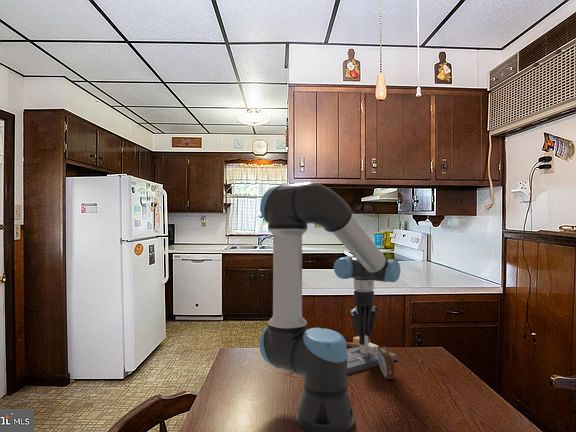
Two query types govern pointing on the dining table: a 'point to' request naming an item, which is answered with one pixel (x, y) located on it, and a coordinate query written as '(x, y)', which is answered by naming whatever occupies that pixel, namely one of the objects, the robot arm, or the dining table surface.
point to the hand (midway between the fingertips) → (364, 352)
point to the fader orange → (357, 341)
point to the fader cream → (372, 349)
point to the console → (362, 360)
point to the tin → (386, 363)
